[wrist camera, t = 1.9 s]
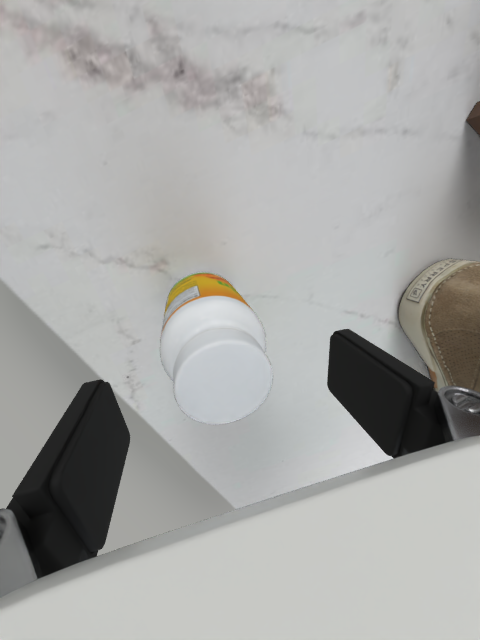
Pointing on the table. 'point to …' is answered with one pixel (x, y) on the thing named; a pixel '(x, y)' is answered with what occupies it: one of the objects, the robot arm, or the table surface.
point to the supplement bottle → (214, 350)
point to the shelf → (475, 118)
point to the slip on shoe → (446, 321)
